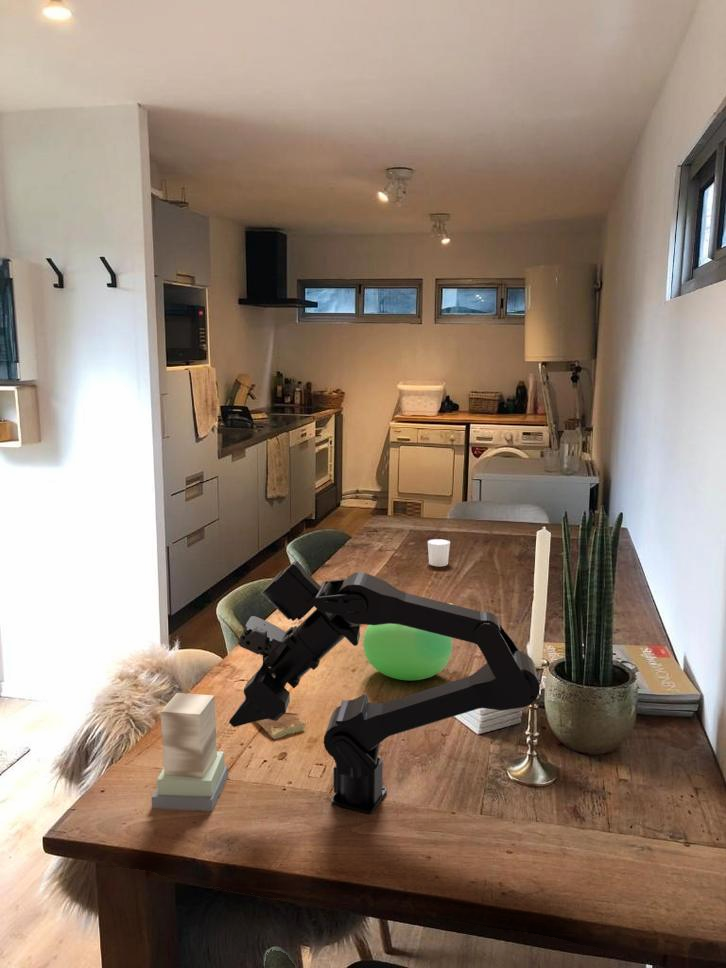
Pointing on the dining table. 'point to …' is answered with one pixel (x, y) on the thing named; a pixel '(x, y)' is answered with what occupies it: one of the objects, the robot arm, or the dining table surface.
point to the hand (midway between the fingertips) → (239, 708)
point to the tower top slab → (192, 781)
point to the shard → (283, 725)
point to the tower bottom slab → (190, 798)
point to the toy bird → (406, 651)
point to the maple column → (189, 735)
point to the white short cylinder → (438, 552)
